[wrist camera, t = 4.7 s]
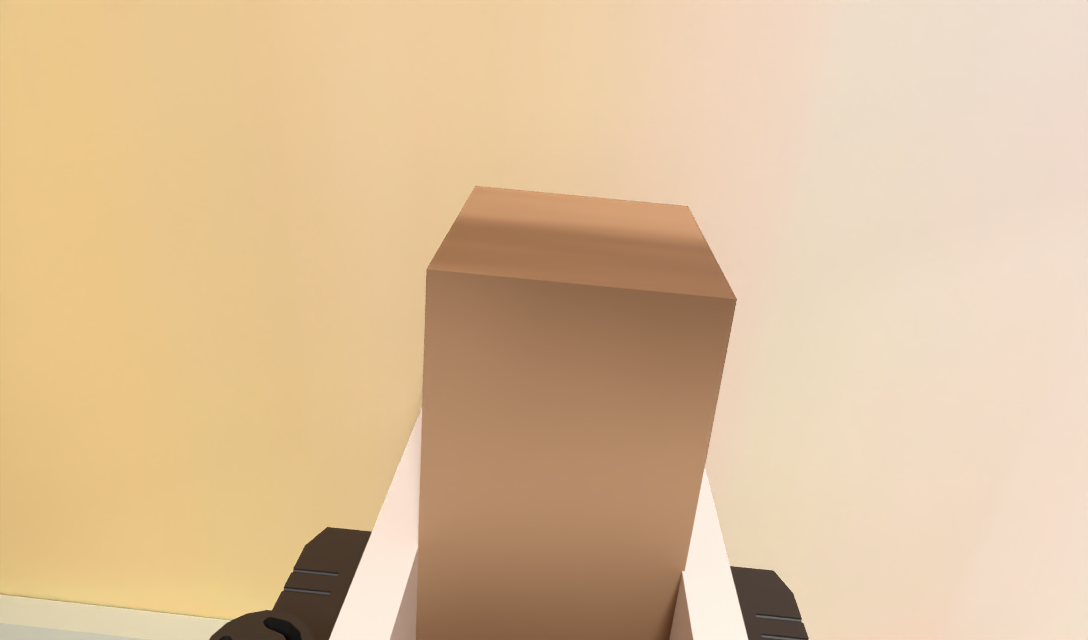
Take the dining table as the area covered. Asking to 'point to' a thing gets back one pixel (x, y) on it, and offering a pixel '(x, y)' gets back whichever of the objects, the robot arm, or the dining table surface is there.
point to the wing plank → (565, 416)
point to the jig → (96, 622)
